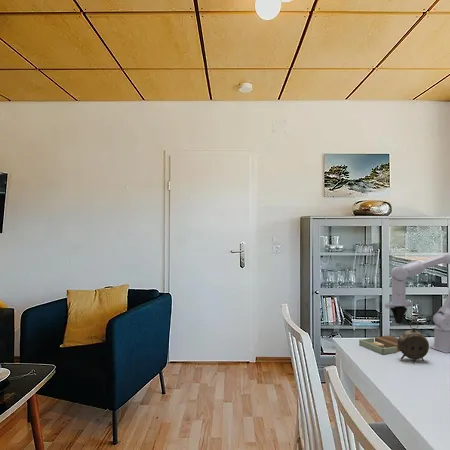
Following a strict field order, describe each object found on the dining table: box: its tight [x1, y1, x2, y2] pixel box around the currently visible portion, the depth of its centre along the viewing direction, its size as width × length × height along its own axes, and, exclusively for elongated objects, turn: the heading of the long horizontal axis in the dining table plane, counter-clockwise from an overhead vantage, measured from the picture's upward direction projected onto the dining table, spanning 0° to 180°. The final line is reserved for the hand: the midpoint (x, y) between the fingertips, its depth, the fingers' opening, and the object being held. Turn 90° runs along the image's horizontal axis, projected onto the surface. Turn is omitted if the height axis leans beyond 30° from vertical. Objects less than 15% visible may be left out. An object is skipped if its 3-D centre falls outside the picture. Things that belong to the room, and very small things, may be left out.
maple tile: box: [370, 341, 384, 348], centre depth 166 cm, size 4×4×2 cm
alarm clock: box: [398, 320, 430, 364], centre depth 152 cm, size 11×5×16 cm, turn 84°
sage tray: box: [358, 337, 398, 356], centre depth 167 cm, size 8×14×2 cm, turn 22°
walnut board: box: [374, 335, 401, 353], centre depth 170 cm, size 9×12×3 cm
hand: (398, 323), depth 171 cm, fingers closed
